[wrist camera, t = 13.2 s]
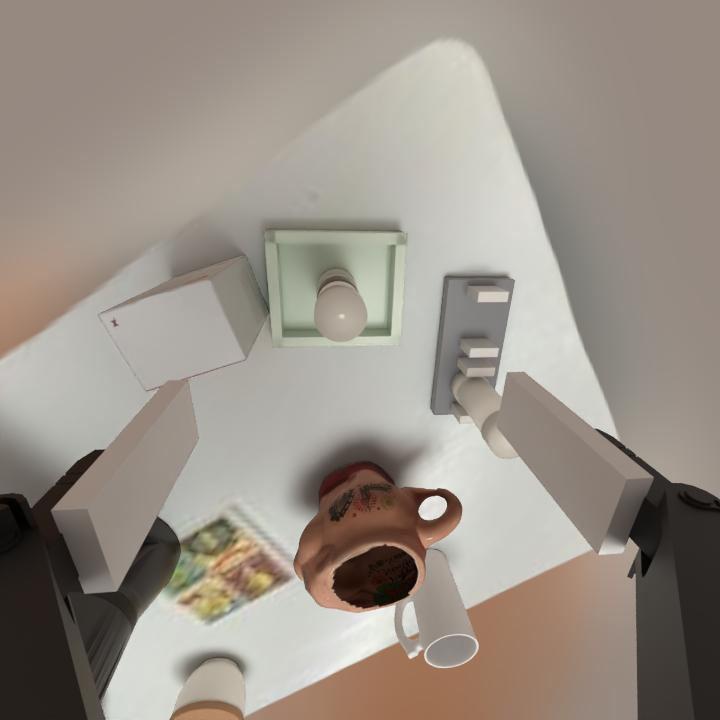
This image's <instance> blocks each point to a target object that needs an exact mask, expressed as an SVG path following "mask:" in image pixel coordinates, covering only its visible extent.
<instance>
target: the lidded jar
mask: <svg viewBox="0 0 720 720" xmlns="http://www.w3.org/2000/svg"><path fill="white" fill-rule="evenodd" d="M245 701H246V688H245V682H244V678H243V676H242V674H241V672H240V670H239V669H238V666H237V664H236V663H235V662H234V661H232V660H230V659H227V658H212V659H209V660H207V661H205V662H204V663H203V664H202V665H201V666H200V667H199V668H198V669H196V670H195V671H194V672H193V673H192V674H191V675H190V677H189V678H188V679H187V681H186V682H185V684H184V685H183V687H182V689H181V691H180V693H179V696H178V698H177V701H176V704H175V707H174V710H173V713H172V716H171V718H170V720H244V711H245Z"/></svg>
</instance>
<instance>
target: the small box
mask: <svg viewBox="0 0 720 720" xmlns="http://www.w3.org/2000/svg"><path fill="white" fill-rule="evenodd" d="M268 313H269V311H268V308H267V306H266V304H265V301H264V299H263V296H262V294H261V291H260V289H259V287H258V284H257V282H256V279H255V277H254V275H253V272H252V270H251V267H250V265H249V262H248V260H247V258H246V256H245V255H242V256H239V257H236V258H232V259H229V260H226V261H223V262H220V263H217V264H214V265H211V266H208V267H205V268H202V269H199V270H196V271H193V272H190V273H186V274H184V275H181V276H178V277H175V278H172V279H170V280H168V281H166V282H164V283H162V284H160V285H159V286H157V287H155V288H153V289H151V290H148V291H146V292H144V293H142V294H140V295H137V296H135V297H133V298H131V299H129V300H127V301H125V302H123V303H121V304H118V305H116V306H114V307H112V308H110V309H108V310H106V311H104V312H102V313H100V314H98V317H99V318H100V320H101V321H102V323H103V324H104V326H105V328H106V329H107V331H108V333H109V334H110V336H111V338H112V339H113V341H114V342H115V344H116V346H117V347H118V349H119V350H120V352H121V353H122V355H123V357H124V358H125V360H126V361H127V363H128V365H129V366H130V368H131V369H132V371H133V372H134V374H135V376H136V377H137V379H138V380H139V382H140V383H141V385H142V386H143V388H144V390H145V391H150V390H153V389H156V388H159V387H162V386H163V385H164V384H165V383H166V382H167V381H168V380H184V379H187V378H191V377H194V376H197V375H200V374H203V373H207V372H210V371H213V370H216V369H219V368H222V367H225V366H228V365H231V364H234V363H238V362H241V361H244V360H246V358H247V356H248V354H249V352H250V350H251V348H252V346H253V344H254V342H255V340H256V338H257V336H258V334H259V332H260V330H261V328H262V326H263V324H264V322H265V319H266V317H267V315H268Z"/></svg>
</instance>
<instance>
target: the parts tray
mask: <svg viewBox="0 0 720 720" xmlns="http://www.w3.org/2000/svg"><path fill="white" fill-rule="evenodd" d="M407 234H408V233H405V232H401V231H339V230H272V229H268V230H266V231H264V242H265V255H266V267H267V280H268V292H269V305H270V318H271V330H272V343H273V347H317V346H385V345H400V339H401V324H402V309H403V294H404V279H405V264H406V249H407ZM335 267H337V268H342V269H345V270H347V271H348V272H349V273H350V274H351V275H352V276H353V278H354V280H355V282H356V285H357V290H358V292H359V294H360V295H361V297H362V299H363V301H364V303H365V306H366V309H367V314H368V318H367V323H366V326H365V328H364V330H363V331H362V332H361V334H360V335H358V336H357V337H356V338H354V339H352V340H350V341H346V342H335V341H331V340H329V339H327V338H325V337H324V336H323V335H322V334H321V333H320V332H319V331H318V329H317V327H316V325H315V322H314V308H315V303H316V300H317V293H316V289H317V282H318V279H319V277H320V275H321V274H322V273H323V272H324V271H326V270H328V269H330V268H335Z"/></svg>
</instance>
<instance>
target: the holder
mask: <svg viewBox="0 0 720 720" xmlns="http://www.w3.org/2000/svg"><path fill="white" fill-rule="evenodd" d="M514 282H515V280H514V279H511V278H509V277H445V281H444V290H443V299H442V308H441V318H440V327H439V336H438V345H437V354H436V364H435V373H434V382H433V391H432V400H431V410H432V412H433V414H434V415H448V414H454V416H455V417H456V419H457V421H458V422H459V424H471V423H475V425H476V426H477V427H478V429H479V430H480V432H481V434H482V437H483V439H484V440H485V442H486V443H487V445H488V446H489V448H490V449H491V450H492V452H493V453H494V454H495V455H496V456H498V457H500V458H503V459H512V458H516V457H518V456H519V455H518V454H517V452H516V451H515V450H514V449H513V447H512V446H511V445H510V444H509V442H508V441H507V440H506V439H505V437H504V436H503V435H502V433H501V432H500V431H499V430H498V428H497V422H498V417H499V411H500V406H501V401H502V397H501V396H500V395H499V394H498V393H497V392H496V391H495V386H496V380H497V375H498V369H499V364H500V359H501V353H502V348H503V342H504V337H505V331H506V326H507V320H508V315H509V310H510V304H511V299H512V293H513V288H514Z"/></svg>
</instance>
